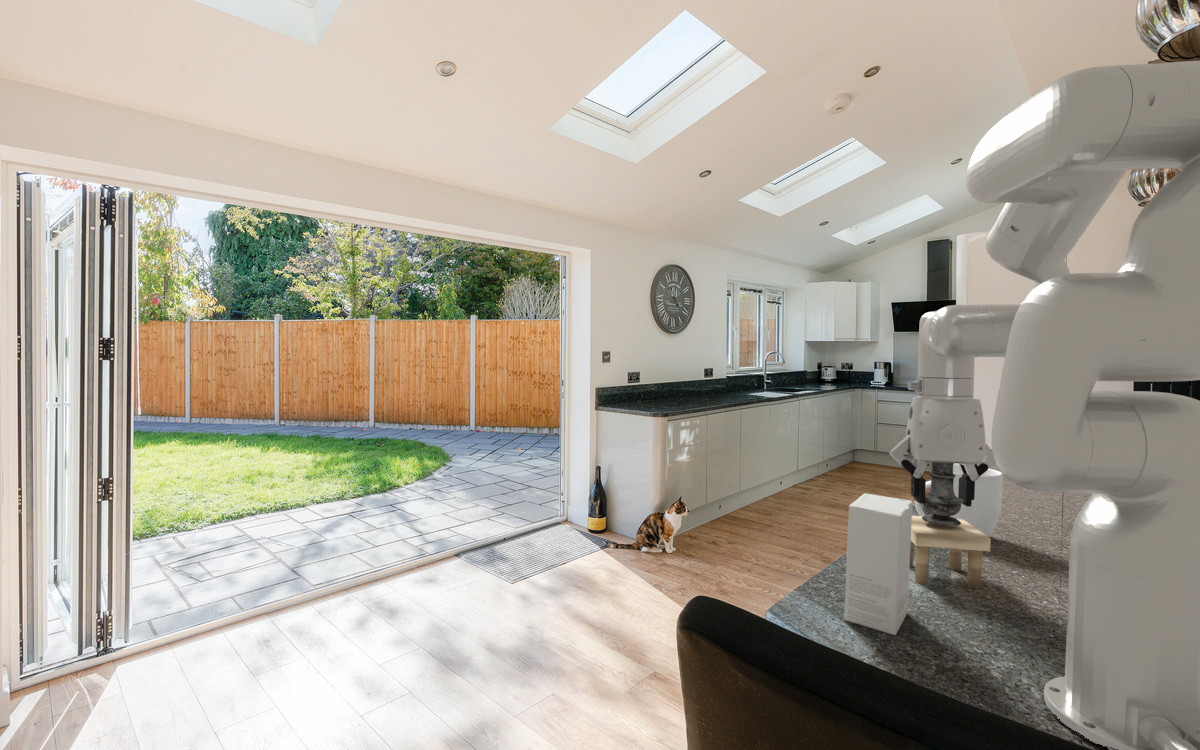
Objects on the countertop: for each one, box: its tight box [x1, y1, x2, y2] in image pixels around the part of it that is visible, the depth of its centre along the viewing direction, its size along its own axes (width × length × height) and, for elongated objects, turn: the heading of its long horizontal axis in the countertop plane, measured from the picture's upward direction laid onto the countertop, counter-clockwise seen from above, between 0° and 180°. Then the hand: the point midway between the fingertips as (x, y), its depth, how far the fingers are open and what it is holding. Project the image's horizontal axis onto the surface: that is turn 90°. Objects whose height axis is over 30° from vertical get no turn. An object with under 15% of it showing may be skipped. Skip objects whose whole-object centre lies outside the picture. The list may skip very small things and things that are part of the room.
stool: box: [909, 515, 992, 590], centre depth 88 cm, size 10×10×8 cm
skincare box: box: [843, 493, 914, 636], centre depth 73 cm, size 8×7×16 cm
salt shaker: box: [922, 462, 964, 526], centre depth 87 cm, size 6×6×12 cm
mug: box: [914, 463, 1004, 537], centre depth 108 cm, size 15×11×13 cm
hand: (941, 501), depth 87 cm, fingers closed on salt shaker, 5 cm apart
